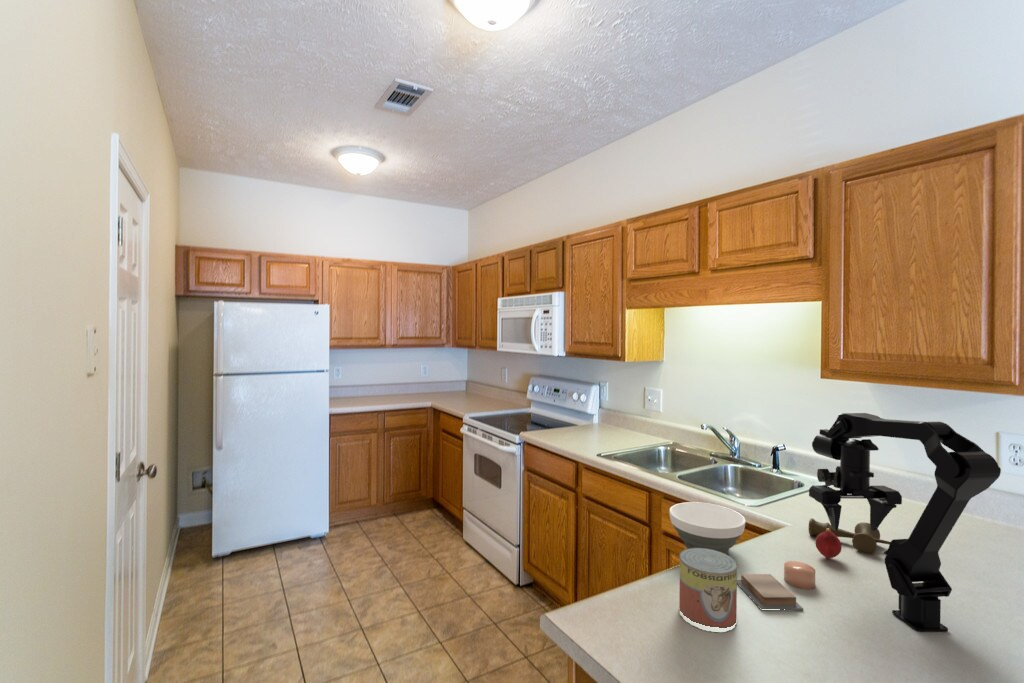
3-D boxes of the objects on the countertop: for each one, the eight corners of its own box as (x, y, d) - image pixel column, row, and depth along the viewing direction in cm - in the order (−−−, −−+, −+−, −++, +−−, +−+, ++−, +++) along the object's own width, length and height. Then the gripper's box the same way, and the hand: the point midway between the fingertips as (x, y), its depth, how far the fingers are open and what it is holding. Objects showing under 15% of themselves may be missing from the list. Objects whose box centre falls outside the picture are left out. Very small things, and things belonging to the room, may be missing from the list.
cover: (796, 605, 103) (796, 597, 103) (764, 605, 103) (764, 597, 103) (770, 581, 113) (770, 574, 113) (741, 581, 113) (741, 574, 113)
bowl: (707, 529, 144) (707, 498, 144) (762, 558, 126) (762, 522, 126) (654, 539, 137) (654, 506, 137) (704, 570, 119) (704, 533, 119)
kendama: (812, 531, 145) (896, 548, 132) (806, 542, 138) (894, 561, 125) (811, 511, 145) (895, 527, 132) (805, 521, 138) (893, 539, 125)
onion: (845, 564, 122) (846, 534, 122) (820, 562, 124) (821, 532, 123) (835, 554, 128) (835, 525, 128) (811, 552, 129) (811, 523, 129)
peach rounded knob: (821, 589, 111) (821, 574, 111) (794, 588, 111) (794, 574, 111) (804, 575, 117) (804, 561, 117) (778, 575, 117) (778, 561, 117)
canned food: (691, 633, 94) (691, 573, 94) (671, 601, 105) (671, 547, 105) (747, 632, 94) (748, 572, 94) (721, 601, 105) (721, 547, 105)
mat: (803, 610, 102) (803, 608, 102) (761, 610, 102) (761, 608, 102) (772, 581, 114) (772, 579, 114) (735, 581, 114) (735, 579, 114)
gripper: (868, 456, 122) (867, 517, 122) (795, 456, 122) (795, 517, 122) (904, 469, 110) (903, 535, 111) (824, 468, 110) (823, 535, 111)
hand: (854, 530), depth 114 cm, fingers open, 9 cm apart
